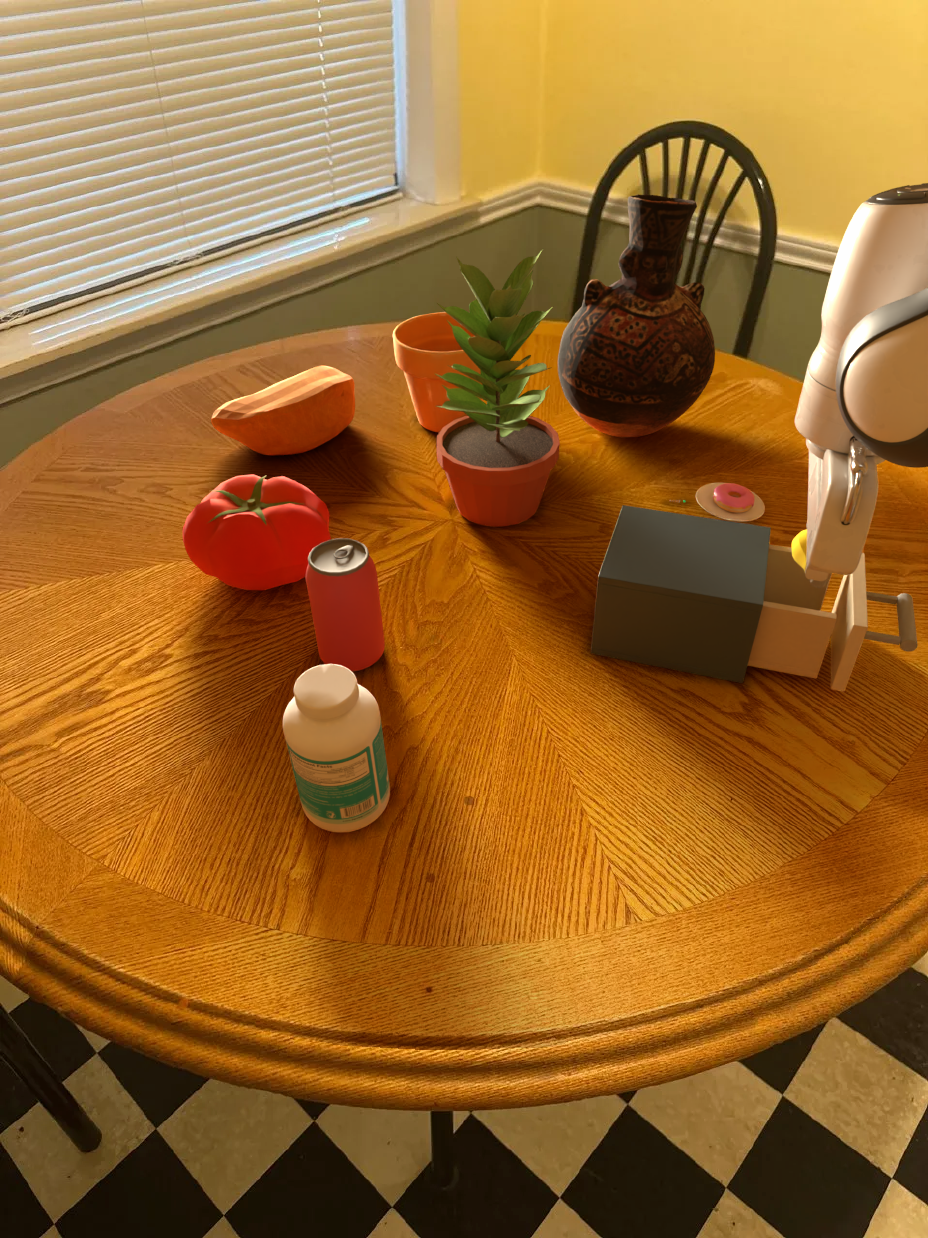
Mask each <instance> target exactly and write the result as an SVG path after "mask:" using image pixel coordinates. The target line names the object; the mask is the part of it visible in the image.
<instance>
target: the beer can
mask: <svg viewBox="0 0 928 1238" xmlns="http://www.w3.org/2000/svg"><path fill="white" fill-rule="evenodd" d="M308 562H309V563H308V566H307V570H306V576H305V582H306V583H305V584H306V588H307V594H308V599H309V607H310V611H311V617H312V622H313V628H314V633H315V640H316V644H317V650H318V651H317V652H318V656H319V659H320V660H321V661H322V663H323V665H324V664H336V665H341V666H344V667H346V668H348V669H349V670H351V671H352V672H353V673H354V672H358V671H363V670H365V669H367V668H370V667H371V666H372V665H374V664H375V663H377V662H378V661H379V660H380V658H381V657H382V656H383V654H384V651H385V646H386V643H385V634H384V625H383V616H382V605H381V598H380V588H379V579H378V571H377V567H376V565H375V562H374V560H373V558H372V557H371V555H370V551H369V548H368V547H367V546H366V544H364V543H363V542H361V541H359V540H357V539H352V538H349V537H348V538H346V537H338V538H331V540H328V541H325V542H322V543H320V544H319V545H317V546H316V547H314V548H313V549H312V551H311V552H310V553H309V556H308Z"/></svg>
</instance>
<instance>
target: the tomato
mask: <svg viewBox="0 0 928 1238" xmlns="http://www.w3.org/2000/svg"><path fill="white" fill-rule="evenodd" d="M265 478H267V475H264V476H262V477H261V476H258V475H256V474H253V473H252V474H244V475H243V474H242V475H236V476H234V477H231V478H229V479H226V480H225V481H222V482H221V483H220V484H219V485H217V486H216V487H215V488H214V489H210V492H209V493H208V494H207V495H205V497H204V498H203V499H202V500H201V502H200V503H197V504H196V505H195V506H194V508H193V509H192V510H191V511H190V513H189V514H188V515H187V516H186V519H185V522H184V524H183V527H182V529H181V531H182V542H183V546H184V550H185V552H186V554H187V556H188V558H189V560H190V562H192V563H193V564H194V565H195V566H196V567H197V568H198V569H199V570H200V571H201V572H203V574H205V575H207V576H211V577H214V578H216V579H217V580H219V581H221V582H222V583H223V584H225V585H227V586H230V587H232V588H237V589H241V590H245V591H266V590H270V589H274V588H277V587H279V586H284V585H289V584H292V583H297V582H299V581H301V580H302V579H304V578H306V570H307V566H308V563H309V562H308V556H309V553H310V552H311V551H312V549H313V548H314V547H316V546H317V545H319V544H320V543H322V542H325V541H328V540H331V539H332V537H331V534H330V530H329V527H330V518H331V517H330V515H331V513H330V511H329V509H328V506H327V504H326V503H325V502H324V501H323V500H321V498H320V497H318V496H317V494H315V493H314V492H313V491H312V490H310V489H309V488H308V487H307V486H305V485H303V484H302V483H299V482H297V481H296V480H293V479H291V478H289V477H286V476H283V475H281V476H275V477H271V478H268V479H265Z"/></svg>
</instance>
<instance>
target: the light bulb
mask: <svg viewBox="0 0 928 1238" xmlns="http://www.w3.org/2000/svg"><path fill="white" fill-rule="evenodd" d="M791 548H792V556H793V558H794V560H795V561H796V562H797V563H798V564H799V565H800V566H801V567H802V568H803V569H804V571H805V565H806V554H807V529H806V528H805V529H804V530H801V531H800V532H799V533H798V534H796V536H795V537H793V539H792V541H791ZM810 583H811V586H813V587H816V588H822V587H823V586H824V585H825V584H826V583H827V579H826V580H824V581H816V580H810Z"/></svg>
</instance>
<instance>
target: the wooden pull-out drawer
mask: <svg viewBox="0 0 928 1238" xmlns="http://www.w3.org/2000/svg"><path fill="white" fill-rule="evenodd" d="M832 575H833V573H829V574H828V577H827V583H826V584H825V585H824V586H823V587H822V588H816V587H813V586H811V583H810V579H807V578H806V577H805V571H804V569H803V568H802V567H801V566H800V565H799V564H798V563H797V562H796V561H795V560H794V558H793V556H792V547H790V546H783V545H777V544H776V545H775V544H770V543H769V552H768V562H767V572H766V582H765V592H764V602H763V608H762V611H761V615H760V619H759V623H758V627H757V631H756V635H755V639H754V642H753V646H752V650H751V654H750V658H749V662H748V666H747V667H753V668H757V669H758V668H759V669H764V670H769V671H774V672H779V673H785V674H790V675H795V676H801V677H805V678H810V679H815V680H816V679H817V678H818V676H819V673H820V670H821V667H822V664H823V661H824V658H825V654H826V651H827V649H828V646H829V643H830V690H833V691H838V692H843V693H844V692H845V691H846V688H847V685H848V683H849V681H850V677H851V675H852V672H853V669H854V668H855V667H854V666H855V664H856V661H857V658H858V656H859V654H860V651H861V648H862V645H863V642H864V640H868V641H872V642H873V641H874V642H880V643H883V644H890V645H897V646H899V648H900V649H901V650H902V651H904V652H907V653H909V652H913V651H916V650H917V648H918V647H919V646H918V645H919V644H918V636H917V626H916V617H915V609H914V598H913V596H912V595H911V594H910V593H906V592H903V593H900V594H898V595H897V596H896V595H891V594H885V593H879V592H873V591H868V590H867V574H866V553H864V552H862V555H861V559H860V562H859V564H858V567H857V568H856V570H855V571H854V572H853V573H852V574H850V575H842V579H841V583H840V585H839V589H838V592H837V595H836V598H835V600H834V604H833V607H832V610H831V612H830V611H824V610H821V609H822V606H823V604H824V600H825V597H826V593H827V591H828V587H829V585H830V581H831V578H832ZM868 601H871V602H878V603H882V604H889V605H896V617H897V627H898V629H897V630H898V635H894V634H888V633H883V632H878V631H877V632H876V631H871V630H868V629H869V619H868Z"/></svg>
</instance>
